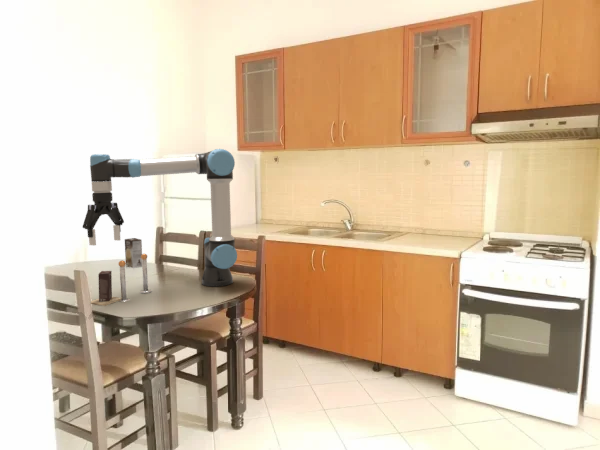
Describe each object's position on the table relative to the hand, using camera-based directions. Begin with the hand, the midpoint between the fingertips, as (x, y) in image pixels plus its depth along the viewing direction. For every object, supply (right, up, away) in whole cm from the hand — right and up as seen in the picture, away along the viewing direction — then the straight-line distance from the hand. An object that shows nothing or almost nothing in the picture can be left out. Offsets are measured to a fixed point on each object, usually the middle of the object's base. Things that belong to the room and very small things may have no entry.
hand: (105, 242), depth 183 cm
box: (-1, -25, +2) cm, 25 cm away
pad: (-1, -25, +2) cm, 25 cm away
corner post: (+6, -25, +4) cm, 26 cm away
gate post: (+11, -23, +17) cm, 31 cm away
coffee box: (-16, -17, +74) cm, 78 cm away
